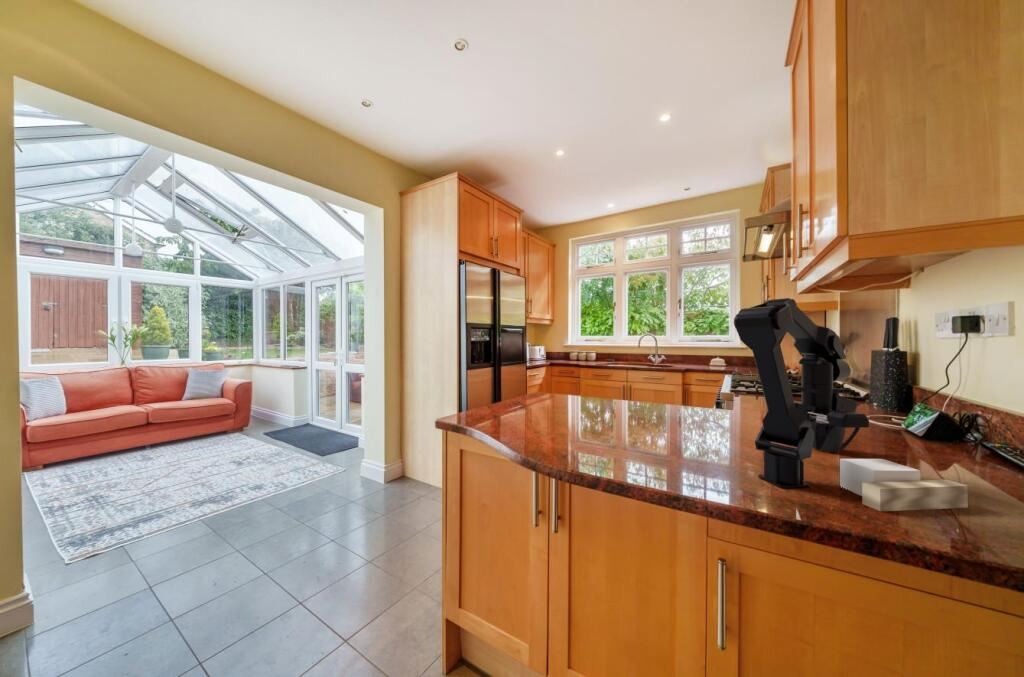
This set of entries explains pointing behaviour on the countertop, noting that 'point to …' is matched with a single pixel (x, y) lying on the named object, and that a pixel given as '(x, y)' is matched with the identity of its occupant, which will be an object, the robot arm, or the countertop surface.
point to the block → (873, 473)
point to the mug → (837, 439)
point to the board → (914, 495)
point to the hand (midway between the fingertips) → (817, 449)
